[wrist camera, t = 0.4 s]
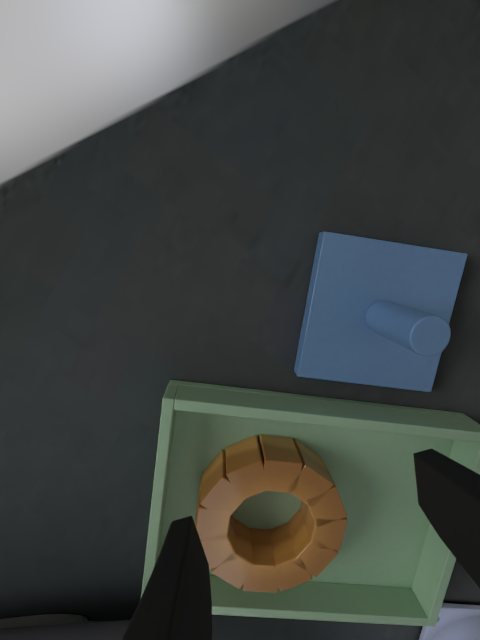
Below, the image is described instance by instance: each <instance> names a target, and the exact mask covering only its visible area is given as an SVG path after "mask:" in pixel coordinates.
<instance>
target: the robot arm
mask: <svg viewBox="0 0 480 640" xmlns="http://www.w3.org/2000/svg"><path fill="white" fill-rule="evenodd" d="M413 455H414V465H415V475H416V485H417V495H418V504H419V506H420V507H421V509H422V511H423V512H424V514H425V515H426V517H427V519H428V520H429V522H430V523H431V525H432V526H433V528H434V529H435V531H436V533H437V534H438V536H439V537H440V538H441V540H442V541H443V542H444V544H445V545H446V546H447V547H448V549H449V550H450V551H451V553H452V554H453V555H454V556H455V558H456V559H457V560H458V561H459V563H460V564H461V565H462V566H463V568H464V569H465V570H466V571H467V573H468V574H469V575H470V576H471V578H472V579H473V580H474V581H475V583H476V584H477V585H478V586H479V588H480V474H478V473H476V472H474V471H472V470H470V469H469V468H467V467H465V466H463V465H461V464H459V463H458V462H456V461H454V460H452V459H450V458H449V457H447V456H445V455H443V454H441V453H439V452H438V451H436V450H434V449H432V448H431V449H427V450H424V451H420V452H417V453H413ZM121 640H212V598H211V585H210V573H209V564H208V561H207V558H206V555H205V552H204V549H203V546H202V543H201V540H200V538H199V535H198V532H197V529H196V526H195V523H194V520H193V517H192V516H189V517H185V518H182V519H178V520H174V521H172V523H171V524H170V527H169V529H168V532H167V535H166V538H165V540H164V543H163V546H162V549H161V551H160V554H159V556H158V559H157V561H156V564H155V566H154V569H153V571H152V574H151V576H150V578H149V581H148V583H147V585H146V588H145V590H144V592H143V595H142V597H141V599H140V601H139V604H138V606H137V608H136V610H135V612H134V614H133V616H132V618H131V621H130V623H129V625H128V627H127V629H126V631H125V633H124V635H123V637H122V639H121ZM419 640H480V605H467V604H450V603H442V606H441V610H440V613H439V616H438V619H437V622H436V626H435V627H431V626H423V628H422V631H421V634H420V638H419Z"/></svg>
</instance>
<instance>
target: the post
mask: <svg viewBox="0 0 480 640" xmlns="http://www.w3.org/2000/svg"><path fill="white" fill-rule="evenodd" d="M466 258H467V254H465V253H459V252H453V251H446V250H440V249H434V248H427V247H421V246H415V245H408V244H402V243H396V242H389V241H383V240H377V239H370V238H364V237H358V236H351V235H345V234H339V233H332V232H326V231H325V232H320V233H319V236H318V241H317V247H316V252H315V258H314V263H313V269H312V274H311V280H310V285H309V290H308V296H307V301H306V307H305V312H304V318H303V323H302V329H301V334H300V339H299V345H298V350H297V356H296V361H295V367H294V371H295V373H296V375H297V376H298V377H306V378H315V379H323V380H332V381H340V382H349V383H357V384H365V385H374V386H382V387H391V388H399V389H408V390H416V391H424V392H431V390H432V386H433V383H434V379H435V375H436V371H437V368H438V364H439V360H440V356H441V353H442V351H443V350H444V349H445V348H446V346H447V345H448V343H449V340H450V336H451V331H450V327H449V322H450V319H451V315H452V311H453V307H454V304H455V300H456V296H457V292H458V289H459V285H460V281H461V277H462V274H463V270H464V266H465V262H466Z"/></svg>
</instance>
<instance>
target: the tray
mask: <svg viewBox="0 0 480 640" xmlns="http://www.w3.org/2000/svg"><path fill="white" fill-rule="evenodd" d="M260 434H264V435H273V436H283V437H292V438H293V441H294V440H295V439H297V440H298V441H300V442H301V443H302V444H304V445H305V446H307V447H308V448H309V449H311V450H312V451H314V452H315V453H316V454H318V455H319V456H320V457H321V459H323V461H324V463H325V465H326V467H327V469H328V471H329V473H330V475H331V477H332V479H333V481H334V483H335V485H336V487H337V490H338V492H339V495H340V498H341V500H342V503H343V505H344V508H345V510H346V513H347V520H348V521H347V525H346V529H345V533H344V538H343V542H342V546H341V550H338V555H337V556H336V557H335V558H334V559H333V560H332V561H331V562H330V563H329V564H328V565H327V566H326V568H325V569H324V570H323V571H322V572H321V573H320V574H319V575H318V576H317V577H314V576H313V575H312V580H310V581H307V582H305V583H302V584H300V585H297V586H295V587H292V588H289V589H287V590H284V591H280V590H279V588H278V590H277V593H270V592H254V591H243V590H242V586H241V588H240V589H238V588H236V587H234V586H233V585H231V584H229V583H228V582H226V581H224V580H223V579H221V578H219V577H217V576H216V575H214V574H212V572H211V569H210V570H209V573H210V585H211V598H212V614H213V615H232V616H250V617H268V618H286V619H304V620H322V621H340V622H359V623H377V624H395V625H413V626H431V627H435V626H436V622H437V619H438V616H439V613H440V610H441V606H442V603H443V600H444V597H445V593H446V590H447V587H448V584H449V581H450V577H451V574H452V571H453V568H454V565H455V561H456V558H455V556H454V555H453V554H452V553H451V551H450V550H449V549H448V547H447V546H446V545H445V544H444V542H443V541H442V540H441V538H440V537H439V536H438V534H437V533H436V531H435V529H434V528H433V526H432V525H431V523H430V522H429V520H428V519H427V517H426V515H425V514H424V512H423V511H422V509H421V507H420V506H419V504H418V495H417V485H416V475H415V465H414V455H413V453H417V452H420V451H424V450H427V449H431V448H432V449H434V450H436V451H438V452H439V453H441V454H443V455H445V456H447V457H449V458H450V459H452V460H454V461H456V462H458V463H459V464H461V465H463V466H465V467H467V468H469V469H470V470H472V471H474V472H476V473H478V474H480V424H478V423H477V422H475V421H474V420H472V419H471V418H469V417H468V416H466V415H465V414H463V413H458V412H449V411H441V410H432V409H423V408H414V407H406V406H397V405H388V404H379V403H371V402H362V401H353V400H344V399H335V398H327V397H318V396H309V395H300V394H292V393H283V392H274V391H265V390H256V389H248V388H239V387H230V386H221V385H213V384H204V383H195V382H186V381H178V380H170V381H169V384H168V386H167V389H166V391H165V394H164V397H163V401H162V410H161V419H160V428H159V437H158V446H157V455H156V464H155V473H154V483H153V492H152V501H151V510H150V519H149V528H148V537H147V546H146V556H145V565H144V574H143V583H142V592H141V597H142V595H143V592H144V590H145V588H146V585H147V583H148V581H149V578H150V576H151V574H152V571H153V569H154V566H155V564H156V561H157V559H158V556H159V554H160V551H161V549H162V546H163V543H164V540H165V538H166V535H167V532H168V529H169V527H170V524H171V523H172V521H174V520H178V519H182V518H185V517H189V516H192V517H193V520H194V523H195V517H196V506H197V498H198V491H199V484H200V478H201V476H202V473H203V471H204V470H205V469H206V468H207V467H208V465H209V464H210V463H211V462H212V461H213V460H214V458H215V457H216V456H217V455H218V454H219V452H220V451H221V450H222V449H223V450H225V451H226V449H225V448H226V447H227V446H229V445H232V444H234V443H237V442H239V441H242V440H244V439H247V438H250V437H252V436H255V435H256V436H257V437H258V440H259V435H260ZM300 506H301V500H300V499H298V498H297V497H295V496H294V495H292V494H291V493H286V492H275V491H264V492H262V493H259V494H257V495H254V496H252V497H249V498H247V499H245V500H244V501H243V502H242V504H241V505H240V506H239V507H238V508H237V509H236V510H235V512H234V513H233V514H232V515H233V517H234V519H236V520H238V521H239V522H241V523H242V524H244V525H245V526H247V527H249V528H259V529H272V528H275V527H277V526H280V525H282V524H285V523H287V522H288V521H289V520H290V519H291V518H292V517H293V516H294V514H295V513H296V512H297V511H298V510H299V509H300Z"/></svg>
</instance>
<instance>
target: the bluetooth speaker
mask: <svg viewBox="0 0 480 640" xmlns="http://www.w3.org/2000/svg"><path fill="white" fill-rule="evenodd" d="M130 621H131V620H122V621H106V622H104V621H88V620H87V618H86V617H84V616H82V615H73V614H43V615H32V616H22V617H14V618H5V619H0V640H121V639H122V637H123V635H124V633H125V631H126V629H127V627H128V625H129V623H130Z"/></svg>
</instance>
